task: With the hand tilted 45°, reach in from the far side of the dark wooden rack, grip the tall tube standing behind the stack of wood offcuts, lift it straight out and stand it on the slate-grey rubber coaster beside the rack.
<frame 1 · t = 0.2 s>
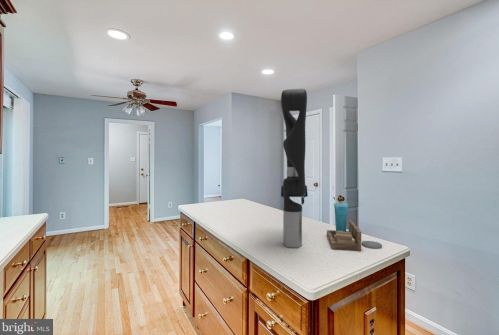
hand: (294, 204, 138), 18 cm above the counter, tool pointing down, fingers open, 8 cm apart
coaster: (371, 245, 124), on the counter
offcut stack: (343, 245, 124), resting in rack
tube: (340, 239, 133), resting in rack
rack: (340, 239, 133), on the counter
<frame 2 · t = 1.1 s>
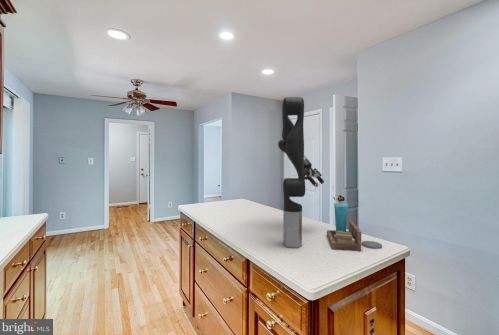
hand: (319, 183, 141), 29 cm above the counter, tool tilted 45°, fingers open, 8 cm apart
nothing on the counter moved.
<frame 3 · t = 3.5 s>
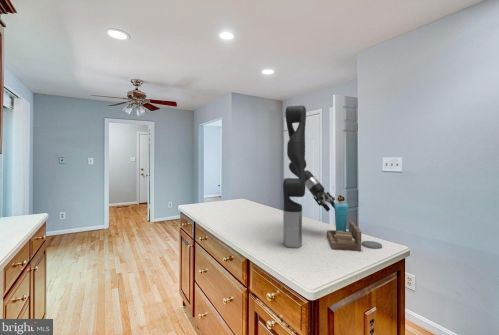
hand: (332, 209, 136), 15 cm above the counter, tool tilted 45°, fingers open, 8 cm apart
nothing on the counter moved.
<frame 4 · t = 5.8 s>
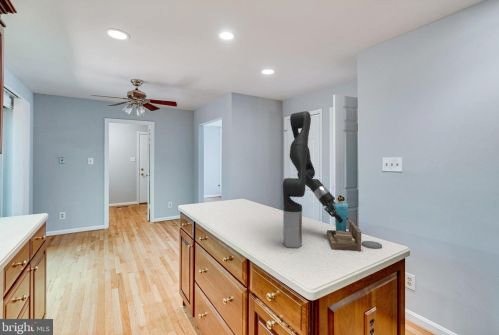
hand: (344, 220, 131), 10 cm above the counter, tool tilted 45°, fingers closed on tube, 5 cm apart
tube: (340, 239, 133), resting in rack, touching gripper
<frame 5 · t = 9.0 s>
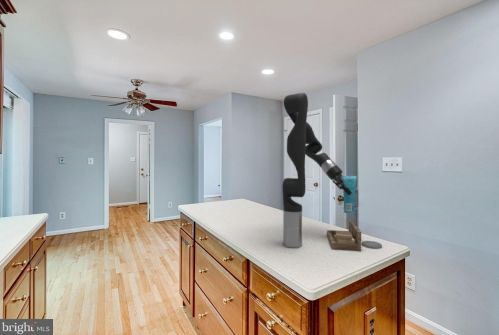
hand: (352, 193, 129), 25 cm above the counter, tool tilted 45°, fingers closed on tube, 5 cm apart
tube: (348, 213, 130), point 15 cm above the counter, touching gripper
when the fingers open (12 cm above the counter, at t = 12.7 s): tube stays where it is, resting on coaster.
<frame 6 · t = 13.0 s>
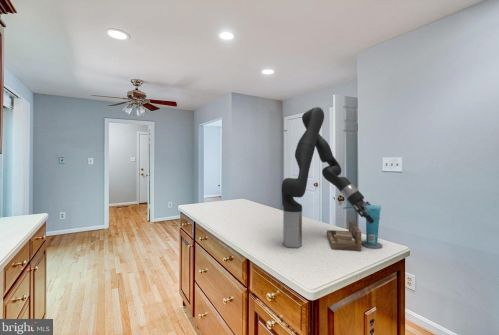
hand: (375, 221, 122), 12 cm above the counter, tool tilted 45°, fingers open, 7 cm apart
tube: (371, 244, 124), point 1 cm above the counter, touching coaster
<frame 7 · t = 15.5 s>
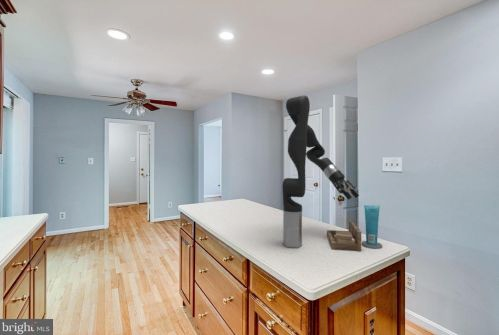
hand: (354, 197, 129), 23 cm above the counter, tool tilted 45°, fingers open, 8 cm apart
nothing on the counter moved.
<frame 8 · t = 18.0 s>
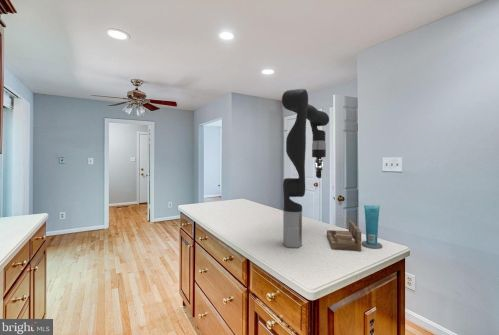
hand: (318, 177, 143), 32 cm above the counter, tool pointing down, fingers open, 8 cm apart
nothing on the counter moved.
at the end: tube 0.2 cm off-centre on the coaster, point 0.6 cm above the coaster's base; tube tilted 0°; the gripper is holding nothing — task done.
